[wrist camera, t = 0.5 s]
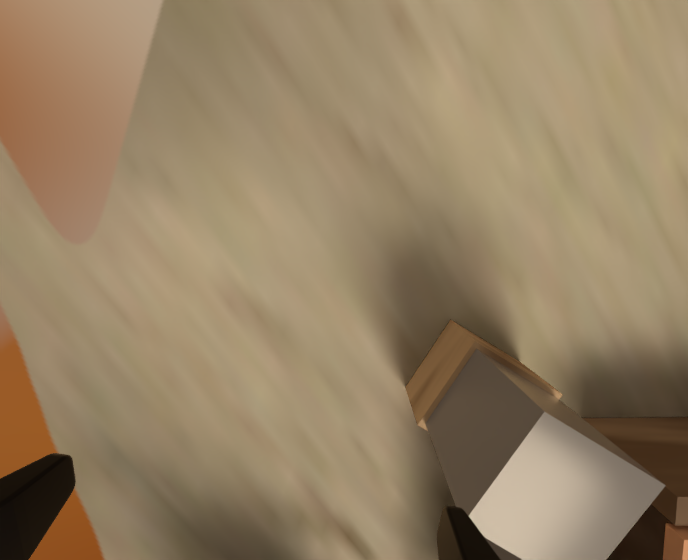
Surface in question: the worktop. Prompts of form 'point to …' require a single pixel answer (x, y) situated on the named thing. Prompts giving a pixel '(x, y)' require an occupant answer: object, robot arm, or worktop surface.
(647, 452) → the frame
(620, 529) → the stone
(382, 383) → the worktop surface
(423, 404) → the brown cube-like block
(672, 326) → the worktop surface
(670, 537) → the trapdoor
